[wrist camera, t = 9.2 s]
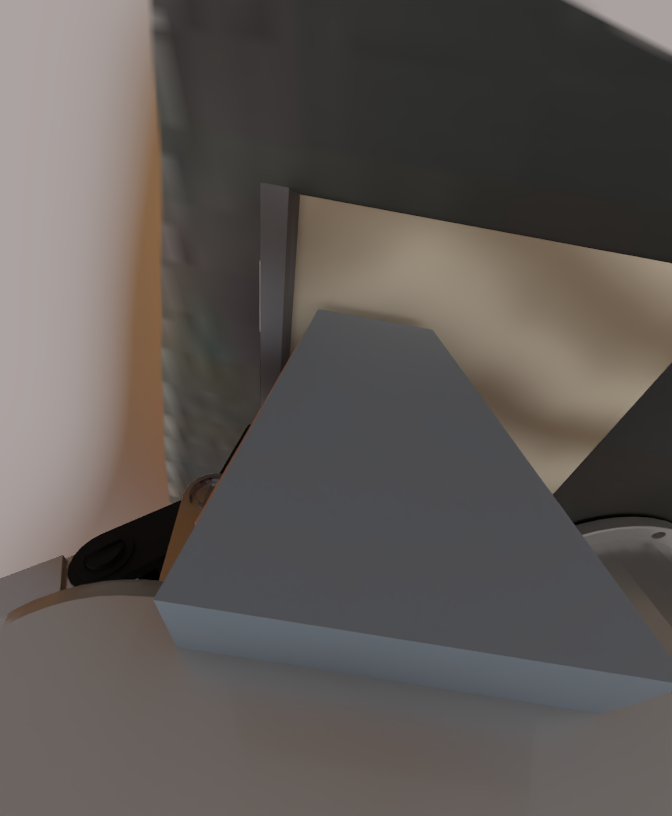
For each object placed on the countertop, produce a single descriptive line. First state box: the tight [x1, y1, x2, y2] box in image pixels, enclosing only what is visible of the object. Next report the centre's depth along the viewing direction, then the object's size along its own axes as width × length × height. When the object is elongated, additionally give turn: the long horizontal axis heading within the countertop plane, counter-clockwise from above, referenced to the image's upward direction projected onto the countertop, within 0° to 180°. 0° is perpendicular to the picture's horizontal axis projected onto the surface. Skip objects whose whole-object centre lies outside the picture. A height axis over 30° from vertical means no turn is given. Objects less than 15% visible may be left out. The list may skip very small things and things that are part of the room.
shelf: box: [259, 182, 672, 495], centre depth 15 cm, size 16×20×4 cm
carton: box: [153, 309, 672, 714], centre depth 9 cm, size 8×5×11 cm, turn 171°
